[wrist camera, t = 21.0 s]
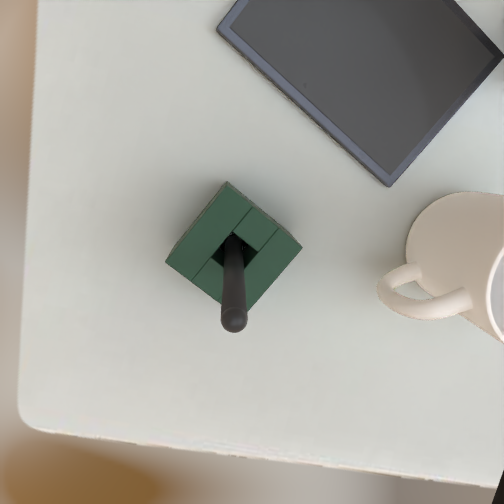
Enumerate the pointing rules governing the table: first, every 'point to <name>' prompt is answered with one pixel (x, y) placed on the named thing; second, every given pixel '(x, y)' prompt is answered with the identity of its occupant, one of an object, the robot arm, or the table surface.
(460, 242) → the cup
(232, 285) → the stylus
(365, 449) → the table surface
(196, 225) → the stand
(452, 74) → the tablet
